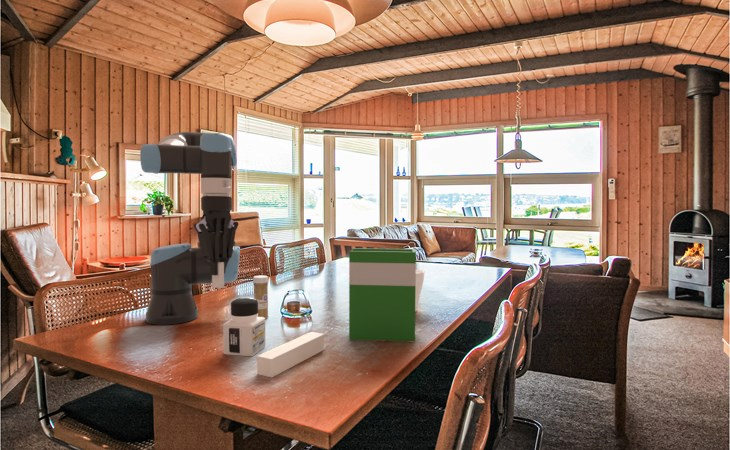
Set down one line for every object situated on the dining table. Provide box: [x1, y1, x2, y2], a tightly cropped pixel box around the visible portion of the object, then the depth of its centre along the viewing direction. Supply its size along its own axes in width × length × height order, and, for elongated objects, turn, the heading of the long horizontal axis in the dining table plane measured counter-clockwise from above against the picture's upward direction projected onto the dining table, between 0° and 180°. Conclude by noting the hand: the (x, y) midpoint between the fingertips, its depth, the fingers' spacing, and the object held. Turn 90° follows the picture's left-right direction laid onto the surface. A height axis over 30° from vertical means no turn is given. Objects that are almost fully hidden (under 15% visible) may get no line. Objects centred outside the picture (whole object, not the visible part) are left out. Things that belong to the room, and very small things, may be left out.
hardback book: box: [348, 247, 417, 342], centre depth 123 cm, size 18×7×24 cm, turn 84°
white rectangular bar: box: [256, 331, 325, 378], centre depth 104 cm, size 4×20×4 cm, turn 152°
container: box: [222, 297, 266, 357], centre depth 111 cm, size 8×8×13 cm
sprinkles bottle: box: [252, 275, 269, 320], centre depth 141 cm, size 5×5×13 cm
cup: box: [415, 269, 425, 313], centre depth 152 cm, size 10×10×14 cm
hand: (218, 287), depth 115 cm, fingers closed
